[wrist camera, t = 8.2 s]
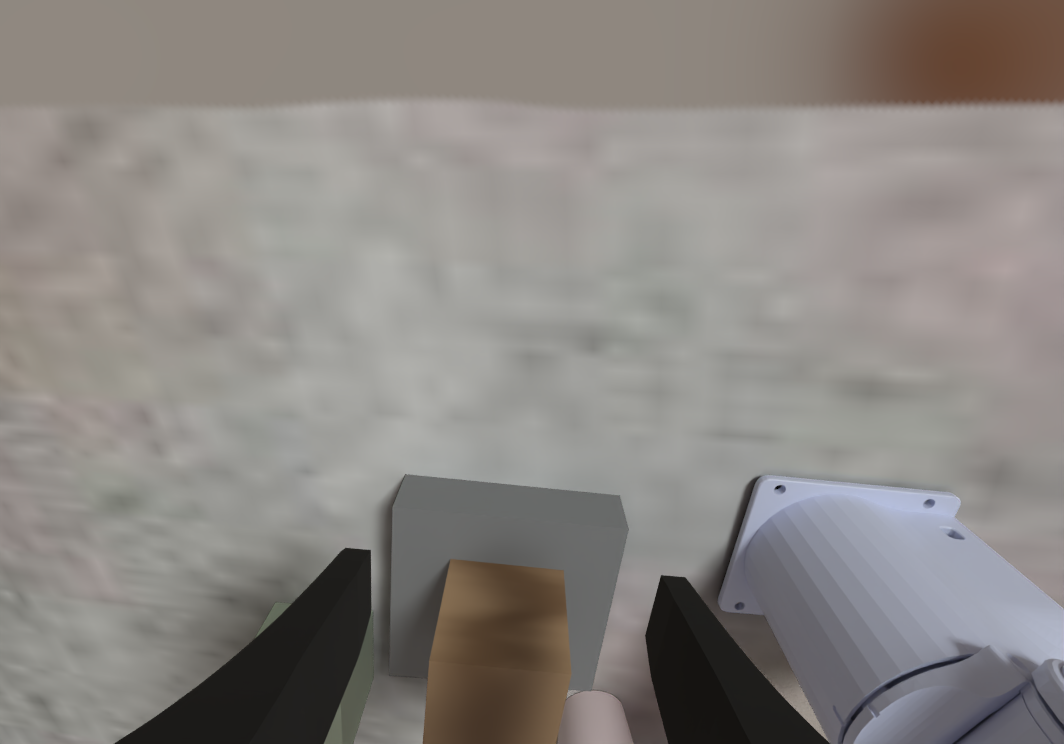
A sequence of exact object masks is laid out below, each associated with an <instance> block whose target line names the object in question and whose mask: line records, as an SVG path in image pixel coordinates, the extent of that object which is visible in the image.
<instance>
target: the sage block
mask: <svg viewBox="0 0 1064 744" xmlns="http://www.w3.org/2000/svg"><path fill="white" fill-rule="evenodd" d="M290 605H291V604H290V603H278V602H276V603H275V604H274V606H273V608H272V609H271V611H270V613H269V615H268V616H267V618H266V620H265V621H264V623H263V625H262V627H261V628H260V630H259V632H258V633H257V635H256V637H257V636H258V635H259V634H260V633H262V632H263V631H264V630H265V629H266V628H267V627H268V626H269V625H270V624H271V623H272V622H274V621H275V620H276V619H277V618H278V617H279V616H280V615H281V614H282V613H283V612H284V611H285V610H286V609H287V608H288V607H289V606H290ZM256 637H255V638H256ZM373 678H374V667H373V610H371V616H370V620H369V623H368V627H367V630H366V634H365V638H364V641H363V644H362V648H361V651H360V655H359V658H358V660H357V663H356V665H355V668H354V670H353V673H352V675H351V678H350V680H349V683H348V685H347V688H346V690H345V693H344V695H343V698H342V700H341V703H340V705H339V708H338V710H337V713H336V715H335V718H334V720H333V723H332V725H331V727H330V730H329V732H328V735H327V737H326V740H325V742H324V744H353V743H354V739H355V736H356V733H357V730H358V726H359V723H360V720H361V717H362V713H363V710H364V707H365V704H366V700H367V697H368V694H369V691H370V687H371V684H372V681H373Z"/></svg>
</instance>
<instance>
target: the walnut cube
mask: <svg viewBox="0 0 1064 744" xmlns="http://www.w3.org/2000/svg"><path fill="white" fill-rule="evenodd" d="M570 679H571V661H570V648H569V634H568V621H567V608H566V594H565V581H564V570H556V569H546V568H536V567H526V566H516V565H506V564H496V563H486V562H476V561H466V560H456V559H450V564H449V569H448V574H447V578H446V583H445V588H444V593H443V597H442V602H441V607H440V612H439V617H438V621H437V626H436V631H435V636H434V641H433V645H432V650H431V655H430V660H429V670H428V683H427V696H426V709H425V722H424V735H423V744H556V741H557V736H558V732H559V728H560V723H561V719H562V714H563V710H564V705H565V701H566V697H567V692H568V688H569V683H570Z"/></svg>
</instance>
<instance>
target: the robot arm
mask: <svg viewBox="0 0 1064 744" xmlns="http://www.w3.org/2000/svg"><path fill="white" fill-rule="evenodd" d="M778 485H782V486H781V487H780V488H779V489H775V487H776V486H778ZM774 489H775V490H774ZM926 500H927V502H925V501H926ZM924 502H925V503H924ZM960 504H961V502H960V499H959V498H958V497H957V496H955V495H954V494H953V493H950V492H941V491H931V490H920V489H910V488H899V487H889V486H878V485H868V484H857V483H847V482H836V481H826V480H815V479H805V478H794V477H784V476H774V475H764V476H762V477H760V478H759V479H758V480H757V481H756V483H755V486H754V489H753V492H752V495H751V498H750V501H749V504H748V507H747V511H746V514H745V517H744V520H743V523H742V526H741V529H740V532H739V535H738V538H737V541H736V545H735V548H734V551H733V554H732V557H731V560H730V563H729V566H728V569H727V572H726V576H725V579H724V582H723V585H722V588H721V591H720V594H719V597H718V604H719V606H720V608H721V610H723V611H725V612H732V613H744V614H756V615H764V616H765V618H766V620H767V622H768V624H769V626H770V628H771V629H772V631H773V633H774V635H775V637H776V639H777V641H778V643H779V645H780V647H781V649H782V651H783V653H784V655H785V657H786V659H787V661H788V663H789V665H790V666H791V668H792V670H793V672H794V674H795V676H796V678H797V680H798V682H799V684H800V686H801V688H802V690H803V692H804V694H805V696H806V698H807V700H808V702H809V703H810V705H811V707H812V709H813V711H814V713H815V715H816V717H817V719H818V721H819V723H820V725H821V727H822V729H823V731H824V733H825V735H826V737H827V738H828V740H829V742H830V743H829V742H828V741H827V740H826V739H825V738H824V737H822V736H821V735H820V734H819V733H818V732H817V731H816V730H815V729H814V728H813V727H812V726H811V725H810V724H809V723H808V722H807V721H806V720H805V719H804V718H803V717H802V716H801V715H800V714H799V713H798V712H797V711H796V710H795V709H794V708H793V707H792V706H791V705H790V704H789V703H788V702H787V701H786V700H785V699H784V698H783V697H782V695H781V694H780V693H779V692H778V691H777V690H776V689H775V688H774V687H773V686H772V685H771V683H770V682H769V681H768V680H767V679H766V678H765V677H764V676H763V674H762V673H761V672H760V671H759V670H758V669H757V668H756V667H755V665H754V664H753V663H752V662H751V661H750V659H749V658H748V657H747V656H746V655H745V653H744V652H743V651H742V650H741V648H740V647H739V646H738V645H737V644H736V642H735V641H734V640H733V639H732V637H731V636H730V635H729V634H728V632H727V631H726V630H725V629H724V627H723V626H722V625H721V624H720V622H719V621H718V620H717V618H716V617H715V616H714V614H713V613H712V612H711V611H710V609H709V608H708V607H707V605H706V604H705V603H704V601H703V600H702V599H701V597H700V596H699V595H698V593H697V592H696V591H695V589H694V588H693V587H692V586H691V584H690V583H689V582H688V580H687V579H686V578H685V577H675V576H663V575H661V578H660V582H659V585H658V589H657V593H656V597H655V601H654V604H653V608H652V612H651V616H650V620H649V623H648V627H647V631H646V635H645V637H646V644H647V651H648V659H649V665H650V672H651V678H652V682H653V686H654V690H655V694H656V698H657V702H658V706H659V710H660V714H661V717H662V721H663V725H664V729H665V732H666V736H667V740H668V744H1064V609H1063V608H1062V607H1061V606H1060V605H1059V604H1057V603H1056V602H1055V601H1054V600H1053V599H1051V598H1050V597H1049V596H1048V595H1047V594H1046V593H1044V592H1043V591H1042V590H1041V589H1040V588H1038V587H1037V586H1036V585H1035V584H1034V583H1032V582H1031V581H1030V580H1029V579H1028V578H1026V577H1025V576H1024V575H1023V574H1022V573H1020V572H1019V571H1018V570H1017V569H1016V568H1014V567H1013V566H1012V565H1011V564H1010V563H1009V562H1007V561H1006V560H1005V559H1004V558H1003V557H1001V556H1000V555H999V554H998V553H997V552H995V551H994V550H993V549H992V548H991V547H989V546H988V545H987V544H986V543H985V542H983V541H982V540H981V539H980V538H979V537H978V536H976V535H975V534H974V533H973V532H972V531H970V530H969V529H968V528H967V527H966V526H964V525H963V524H962V523H961V522H960V521H958V520H957V519H956V518H955V515H956V513H957V511H958V509H959V507H960ZM738 602H740V603H738ZM736 603H738V604H736ZM370 616H371V550H362V549H351V548H345V549H344V550H342V551H341V552H340V553H339V554H338V555H337V556H336V558H335V559H334V560H333V561H332V562H331V563H330V564H329V565H328V566H327V568H326V569H325V570H324V571H323V572H322V573H321V574H320V575H319V576H318V577H317V578H316V579H315V580H314V582H313V583H312V584H311V585H310V586H309V587H308V588H307V589H306V590H305V591H304V592H303V593H302V594H301V595H300V596H299V597H298V598H297V599H296V600H295V601H294V602H293V603H292V604H291V605H290V606H289V607H288V608H287V609H286V610H285V611H284V612H283V613H282V614H281V615H280V616H279V617H278V618H277V619H276V620H275V621H274V622H272V623H271V624H270V625H269V626H268V627H267V628H266V629H265V630H264V631H263V632H262V633H260V634H259V635H258V636H257V637H256V638H255V639H254V640H253V641H252V642H251V643H249V644H248V645H247V646H246V647H245V648H244V649H243V650H241V651H240V652H239V653H238V654H237V655H236V656H234V657H233V658H232V659H231V660H230V661H228V662H227V663H226V664H225V665H224V666H222V667H221V668H220V669H219V670H217V671H216V672H215V673H214V674H212V675H211V676H210V677H209V678H207V679H206V680H205V681H204V682H202V683H201V684H200V685H198V686H197V687H196V688H194V689H193V690H192V691H190V692H189V693H187V694H186V695H185V696H183V697H182V698H181V699H179V700H178V701H177V702H175V703H174V704H173V705H171V706H170V707H168V708H167V709H166V710H164V711H163V712H161V713H160V714H159V715H157V716H156V717H154V718H153V719H151V720H150V721H148V722H147V723H145V724H144V725H142V726H141V727H139V728H138V729H136V730H135V731H133V732H132V733H130V734H128V735H127V736H125V737H124V738H122V739H121V740H119V741H118V742H116V743H115V744H324V742H325V740H326V737H327V735H328V732H329V730H330V727H331V725H332V723H333V720H334V718H335V715H336V713H337V710H338V708H339V705H340V703H341V700H342V698H343V695H344V693H345V690H346V688H347V685H348V683H349V680H350V678H351V675H352V673H353V670H354V668H355V665H356V663H357V660H358V658H359V655H360V651H361V648H362V644H363V641H364V638H365V634H366V630H367V627H368V623H369V620H370Z"/></svg>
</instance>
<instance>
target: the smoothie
mask: <svg viewBox="0 0 1064 744" xmlns="http://www.w3.org/2000/svg"><path fill="white" fill-rule="evenodd" d="M557 744H634V743H633V740H632V736H631V733H630V730H629V726H628V723H627V719H626V716H625V713H624V709H623V706H622V704H621V702H620V701H619V700H618V699H617V698H616V697H615V696H613V695H611V694H609V693H606V692H602V691H583V692H579V693H577V694H574V695H572V696H571V697H569V698H568V699H566V701H565V705H564V710H563V714H562V719H561V723H560V728H559V732H558V742H557Z"/></svg>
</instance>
